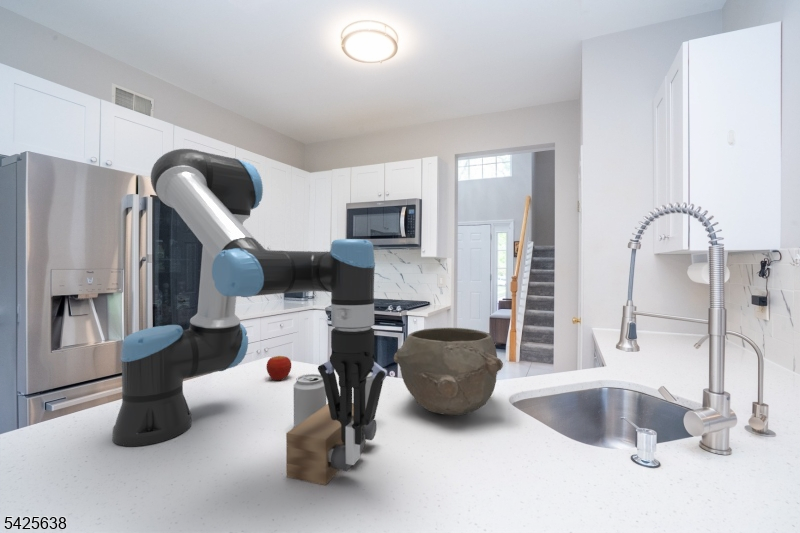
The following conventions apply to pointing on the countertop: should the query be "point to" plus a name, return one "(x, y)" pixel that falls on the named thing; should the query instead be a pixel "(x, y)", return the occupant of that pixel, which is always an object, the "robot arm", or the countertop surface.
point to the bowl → (449, 368)
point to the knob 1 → (338, 458)
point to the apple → (278, 367)
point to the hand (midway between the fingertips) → (352, 460)
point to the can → (308, 396)
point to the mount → (313, 447)
